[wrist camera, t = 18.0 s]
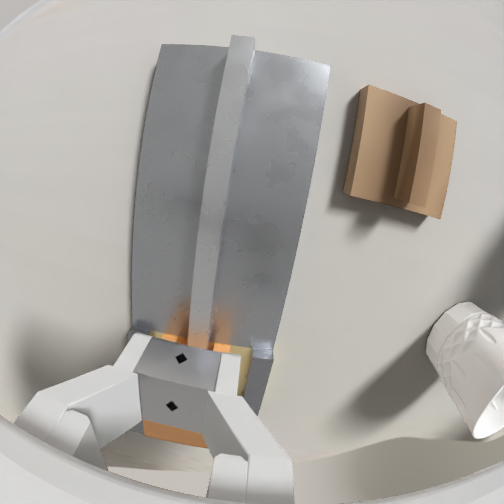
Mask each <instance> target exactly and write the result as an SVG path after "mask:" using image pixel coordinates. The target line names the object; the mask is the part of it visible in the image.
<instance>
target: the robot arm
mask: <svg viewBox="0 0 504 504" xmlns="http://www.w3.org/2000/svg"><path fill="white" fill-rule="evenodd" d="M221 355H222V356H221ZM240 362H241V356H240V355H239V354H232V353H226V352H217V351H212V350H207V349H202V348H197V347H192V346H187V345H184V344H180V343H176V342H172V341H168V340H164V339H161V338H157V337H152V336H149V335H145V334H142V333H138V332H137V333H135V334H134V335H133V336H132V338H131V339H130V341H129V342H128V344H127V345H126V347H125V348H124V350H123V351H122V353H121V354H120V356H119V357H118V359H117V361H116V362H115V364H114V365H113V366H111V365H106V366H104V367H101V368H99V369H96V370H94V371H91V372H88V373H86V374H83V375H81V376H78V377H76V378H73V379H70V380H68V381H65V382H63V383H60V384H57V385H55V386H52V387H49V388H46V389H44V390H41V391H38V392H37V393H36V395H35V396H34V397H33V399H32V400H31V401H30V402H29V404H28V405H27V406H26V408H25V409H24V410H23V412H22V413H21V414H20V416H19V417H18V418H17V420H16V421H15V423H14V424H13V423H11V422H10V421H8V420H7V419H5V418H4V417H2V416H1V415H0V504H294V486H293V470H292V459H291V458H290V457H289V456H288V455H287V453H286V452H285V451H284V450H283V448H282V447H281V446H280V445H279V444H278V442H277V441H276V440H275V439H274V437H273V436H272V435H271V434H270V432H269V431H268V430H267V428H266V427H265V426H264V425H263V423H262V422H261V421H260V419H259V418H258V417H257V416H256V414H255V413H254V412H253V410H252V409H251V408H250V406H249V405H248V404H247V402H246V401H245V399H244V398H243V397H241V396H237V390H238V381H239V371H240ZM142 419H144V420H148V421H152V422H156V423H160V424H164V425H169V426H173V427H177V428H181V429H185V430H189V431H193V432H197V433H202V436H203V438H204V440H205V442H206V445H207V447H208V449H209V451H210V453H211V455H212V457H213V459H214V463H213V467H212V472H211V477H210V481H209V486H208V490H207V495H206V498H205V497H199V496H194V495H189V494H184V493H180V492H175V491H171V490H167V489H163V488H159V487H155V486H152V485H148V484H145V483H142V482H138V481H135V480H132V479H129V478H126V477H123V476H120V475H117V474H114V473H111V472H109V471H108V468H107V466H106V463H105V461H104V458H103V456H102V453H101V451H100V449H101V448H103V447H104V446H106V445H107V444H109V443H110V442H112V441H113V440H115V439H116V438H118V437H119V436H121V435H122V434H123V433H125V432H126V431H128V430H129V429H131V428H132V427H134V426H135V425H136V424H138V423H139V422H141V421H142ZM341 504H504V461H502V462H500V463H497V464H495V465H493V466H491V467H488V468H486V469H483V470H481V471H478V472H476V473H473V474H470V475H468V476H465V477H463V478H459V479H456V480H453V481H450V482H447V483H444V484H441V485H438V486H434V487H431V488H427V489H423V490H419V491H415V492H411V493H407V494H402V495H397V496H392V497H387V498H381V499H374V500H368V501H360V502H351V503H341Z"/></svg>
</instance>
